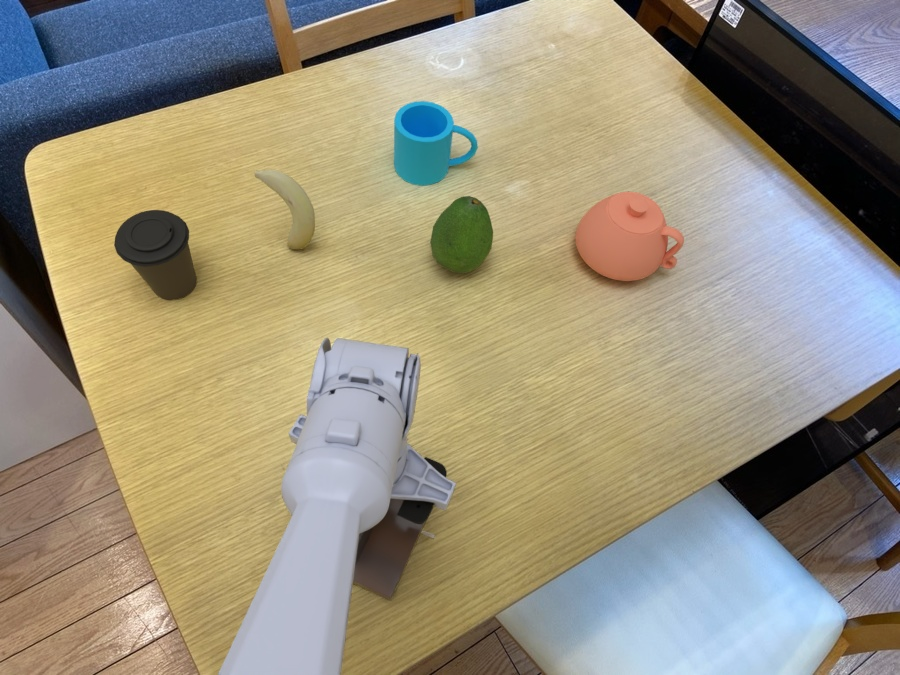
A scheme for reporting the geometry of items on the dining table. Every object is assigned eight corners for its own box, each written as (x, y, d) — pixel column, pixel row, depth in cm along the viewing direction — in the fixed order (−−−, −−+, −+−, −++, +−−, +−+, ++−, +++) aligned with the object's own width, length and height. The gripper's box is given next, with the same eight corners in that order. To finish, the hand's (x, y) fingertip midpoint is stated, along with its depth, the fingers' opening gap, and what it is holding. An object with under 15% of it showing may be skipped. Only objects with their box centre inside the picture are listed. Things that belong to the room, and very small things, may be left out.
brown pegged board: (402, 614, 62) (403, 611, 60) (266, 550, 64) (263, 545, 62) (460, 477, 69) (462, 471, 67) (337, 423, 71) (336, 416, 69)
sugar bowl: (590, 208, 91) (611, 155, 83) (680, 248, 89) (712, 198, 80) (557, 265, 86) (576, 215, 77) (652, 310, 83) (684, 263, 74)
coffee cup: (219, 289, 79) (199, 239, 70) (157, 320, 76) (128, 271, 67) (190, 247, 82) (167, 193, 73) (129, 275, 79) (98, 222, 70)
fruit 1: (320, 258, 81) (330, 245, 82) (291, 177, 72) (303, 165, 74) (283, 252, 83) (294, 240, 84) (250, 172, 74) (263, 160, 76)
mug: (393, 184, 90) (393, 140, 83) (394, 144, 95) (395, 99, 88) (475, 187, 92) (482, 144, 84) (473, 148, 96) (480, 104, 89)
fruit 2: (481, 291, 82) (495, 232, 72) (422, 279, 82) (428, 218, 72) (491, 246, 86) (505, 183, 76) (435, 234, 86) (442, 170, 76)
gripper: (476, 431, 49) (459, 484, 61) (312, 361, 51) (326, 425, 63) (440, 514, 46) (430, 552, 57) (266, 435, 47) (290, 488, 59)
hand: (373, 490), depth 60 cm, fingers open, 7 cm apart
